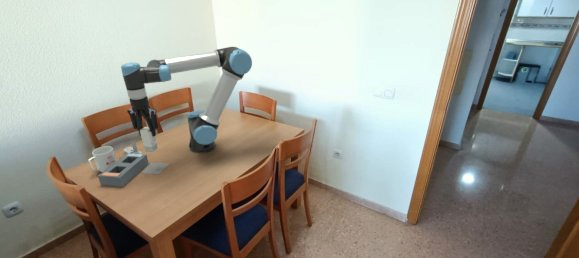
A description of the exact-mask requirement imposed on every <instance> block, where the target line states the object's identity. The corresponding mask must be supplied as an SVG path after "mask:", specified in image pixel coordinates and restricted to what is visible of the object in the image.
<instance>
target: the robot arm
mask: <svg viewBox="0 0 579 258" xmlns="http://www.w3.org/2000/svg"><path fill="white" fill-rule="evenodd" d="M252 66H253V59H252V57H251V55H250V54H249V52H247V51H246V50H244V49H241V48H239V47H237V46H228V47H223V48H218V49H214V51H211V52H205V53H204V52H203V53H197V54H192V55H191V54H190V55H184V56H177V57H172V58H171V57H170V58H164V59H159V60H158V59H151V60H150V61H148V63H147V64H146V66H141V64H140V63H138V62H126V63H123V64H121V66H120V69H121V73H122V78H123V81H124V84H125V88H126V91H127V92H126V93H127V96H128V98H129V104H130V107H131V108H129V109H128V110H126V111H127V112H126V113H127V114H128V115H129V118H130V120H131V123H132V125H131V126H132V127H133V130H137V131H138V133H139V134H138V135H139V136H140V138H142V136H141V132H140V130H141V129H142V128H144V126H143V125H144V124H143V119H144V120H145V123H146V124H147V127H149V129H150V131H149V134H150V138H151V142H152V143H154V142H155V141H156V142H157V138H156V136H157V134H156V130H158V129H159V123H158V118H157V110H156V109H151V107H150V102H149V98H148V94H147V91H146V86H145V84H146V85H147V84H154V83H164V82H170V81H172V74H178V73H183V72H189V71H195V70H202V69H207V68H213V67H217V68H221V71H222V74H221V76H220V78H219V80H218V82H217V84H216V85H215V88H214V90H213V92H212V95H211V97H210V99H209V101H208V103H207V105H206V108H205V109H204V110H203V109H200V110H193V111H191V112H188V113H187V116H186V119H187V124H188V129H189V143H188V149H189V151H190V152H193V153H197V154H198V153H199V154H200V153H208V152H211V151H212V150H214V149H215V147H216V142H215V140H216V139H217V136H218V131H217V130H218V129H219V126H220V123H221V122H220V118H221V116H222V114H223V112H224V109H225V107H226V105H227V103H228V102H229V99H230V97H231V96H232V93H233V92H234V90H235V88H236V86H237V83H238V81H240V80H243V78H244V76H245V75H246V74H248V73H249V72H250V71H251V69H252ZM141 140H142V139H141ZM142 142H143V140H142Z"/></svg>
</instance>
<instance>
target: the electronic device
mask: <svg viewBox="0 0 579 258" xmlns="http://www.w3.org/2000/svg"><path fill="white" fill-rule="evenodd" d="M136 143H137V142H136V141H132V142H131V145H132V146H127V147H125V148H124V149H123V153H124V155H126V154H127V153H130V154H143V152H142V151H141V150H140V149H138V146H137V144H136Z"/></svg>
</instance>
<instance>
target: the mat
mask: <svg viewBox="0 0 579 258" xmlns="http://www.w3.org/2000/svg"><path fill="white" fill-rule="evenodd" d="M168 166H169V163H162V162H150V163H149V164H148V165H146V166H145V167H144V168H143V169H142V170H141V171H140V174H149V175H150V174H152V175H160V174H161V173H162V172H163V171H164V169H165V168H167V167H168Z"/></svg>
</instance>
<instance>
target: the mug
mask: <svg viewBox="0 0 579 258" xmlns="http://www.w3.org/2000/svg"><path fill="white" fill-rule="evenodd" d="M91 154H92V157H90V158H89V159H87V161H88V163H89V166H90V168H91V169H92V170H95V171H99V172H101V173H102V172H104V171H105V170H106V169H107V168H109V167H110V166H111V165H113V164H114V163H115V162H117V161H118V160H117V158H116V154H115V151H114V148H113V147H112V146H110V145H106V146H105V145H104V146H100V147H97V148H95V149H94V150H93V151H92V153H91ZM93 160H94V163H95V165H96V168H95V167H94V165H93V163H92V161H93Z"/></svg>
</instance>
